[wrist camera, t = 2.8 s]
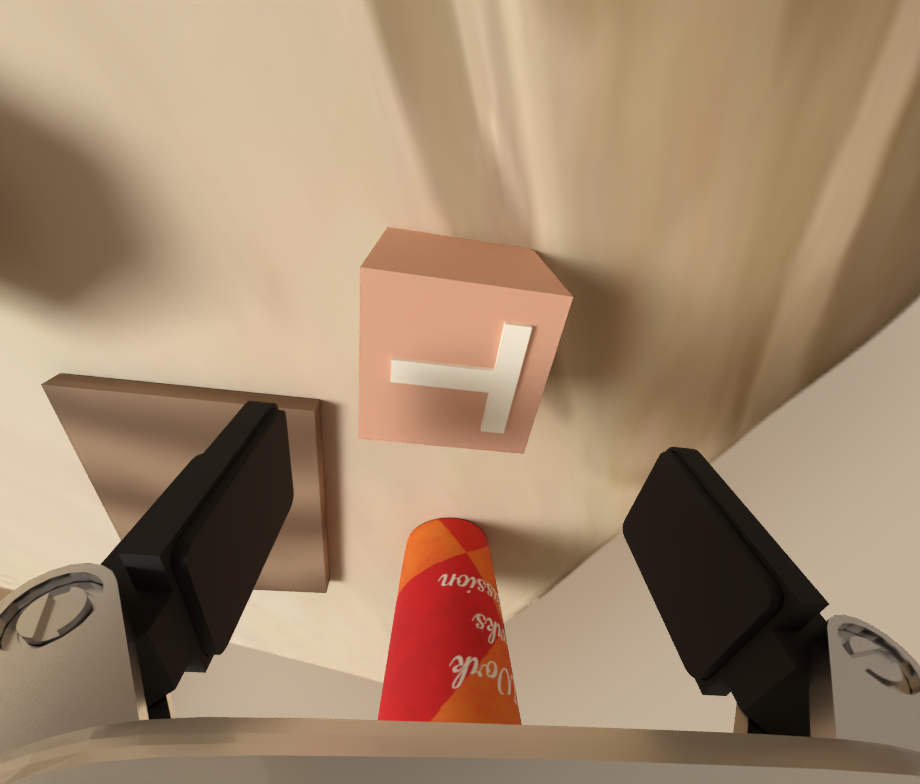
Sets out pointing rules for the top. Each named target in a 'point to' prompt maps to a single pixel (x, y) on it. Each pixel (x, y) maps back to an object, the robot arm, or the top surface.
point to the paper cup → (448, 633)
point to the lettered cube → (455, 341)
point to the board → (176, 443)
